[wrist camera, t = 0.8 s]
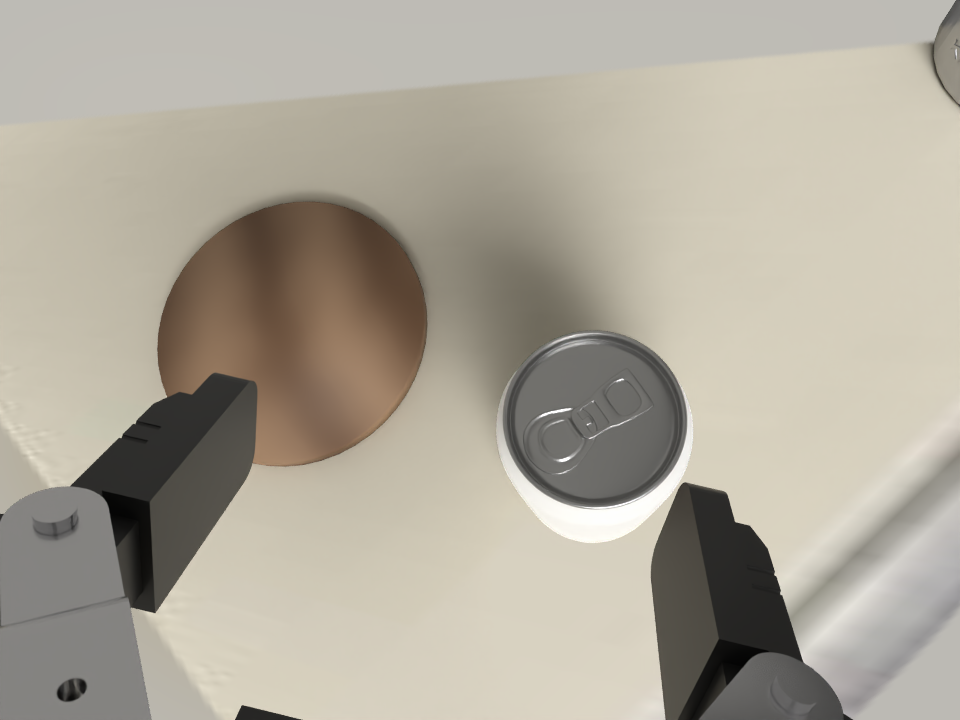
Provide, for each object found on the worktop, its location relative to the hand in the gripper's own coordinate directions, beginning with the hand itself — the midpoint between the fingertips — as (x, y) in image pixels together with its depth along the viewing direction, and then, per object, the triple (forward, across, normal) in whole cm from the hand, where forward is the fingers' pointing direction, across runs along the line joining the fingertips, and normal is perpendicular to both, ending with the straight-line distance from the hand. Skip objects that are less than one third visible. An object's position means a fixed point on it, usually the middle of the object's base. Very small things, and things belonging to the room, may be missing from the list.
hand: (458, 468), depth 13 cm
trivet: (+22, +10, +10) cm, 26 cm away
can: (+17, -6, +12) cm, 21 cm away
